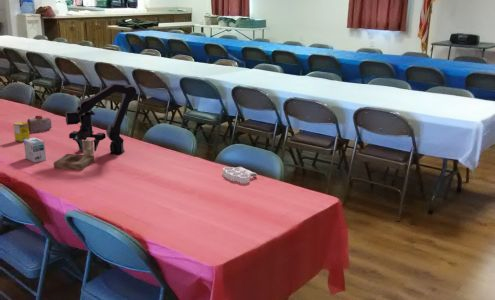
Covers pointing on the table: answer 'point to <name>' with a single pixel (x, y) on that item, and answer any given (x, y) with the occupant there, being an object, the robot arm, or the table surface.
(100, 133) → the robot arm
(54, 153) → the table surface
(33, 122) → the grey box with knob
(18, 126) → the supplement box
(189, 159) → the table surface
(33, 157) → the light bulb box
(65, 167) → the walnut sleeve block
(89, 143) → the maple pin
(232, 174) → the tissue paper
